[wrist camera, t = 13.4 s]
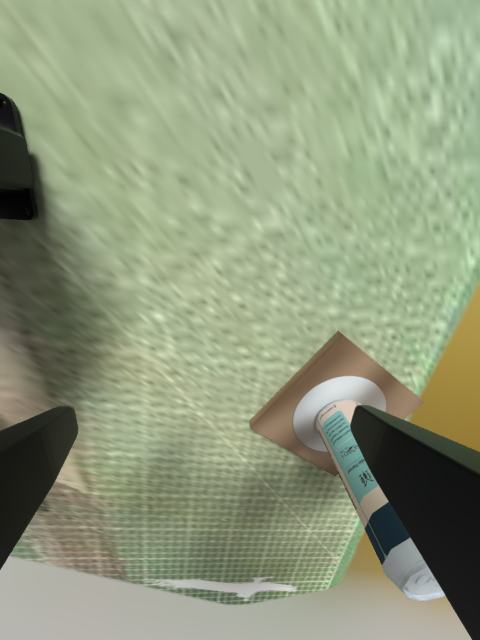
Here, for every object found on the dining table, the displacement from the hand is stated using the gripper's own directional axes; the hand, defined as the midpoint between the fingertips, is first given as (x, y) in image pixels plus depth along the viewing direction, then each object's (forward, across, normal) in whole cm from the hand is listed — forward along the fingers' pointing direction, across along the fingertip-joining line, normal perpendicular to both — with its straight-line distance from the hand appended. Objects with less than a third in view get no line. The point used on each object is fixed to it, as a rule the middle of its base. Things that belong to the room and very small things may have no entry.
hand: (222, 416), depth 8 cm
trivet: (+13, +12, -11) cm, 21 cm away
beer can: (+12, +12, -11) cm, 20 cm away
